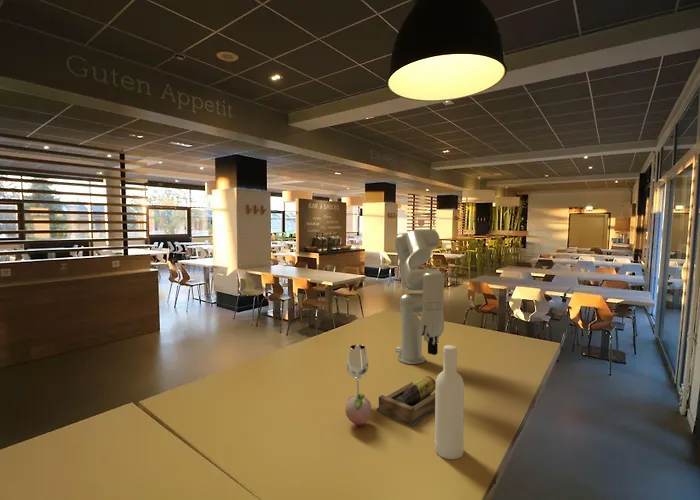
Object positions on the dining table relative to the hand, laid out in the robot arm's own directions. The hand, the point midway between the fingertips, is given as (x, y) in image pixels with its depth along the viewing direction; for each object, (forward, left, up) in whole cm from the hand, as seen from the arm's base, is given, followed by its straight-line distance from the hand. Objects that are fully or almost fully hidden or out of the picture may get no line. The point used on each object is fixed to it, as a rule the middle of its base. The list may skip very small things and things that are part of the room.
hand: (432, 353), depth 139 cm
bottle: (+22, -28, -16) cm, 39 cm away
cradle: (0, -13, -16) cm, 20 cm away
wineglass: (-17, -23, -16) cm, 33 cm away
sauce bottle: (-1, 0, -11) cm, 11 cm away
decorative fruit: (-6, -35, -16) cm, 39 cm away
